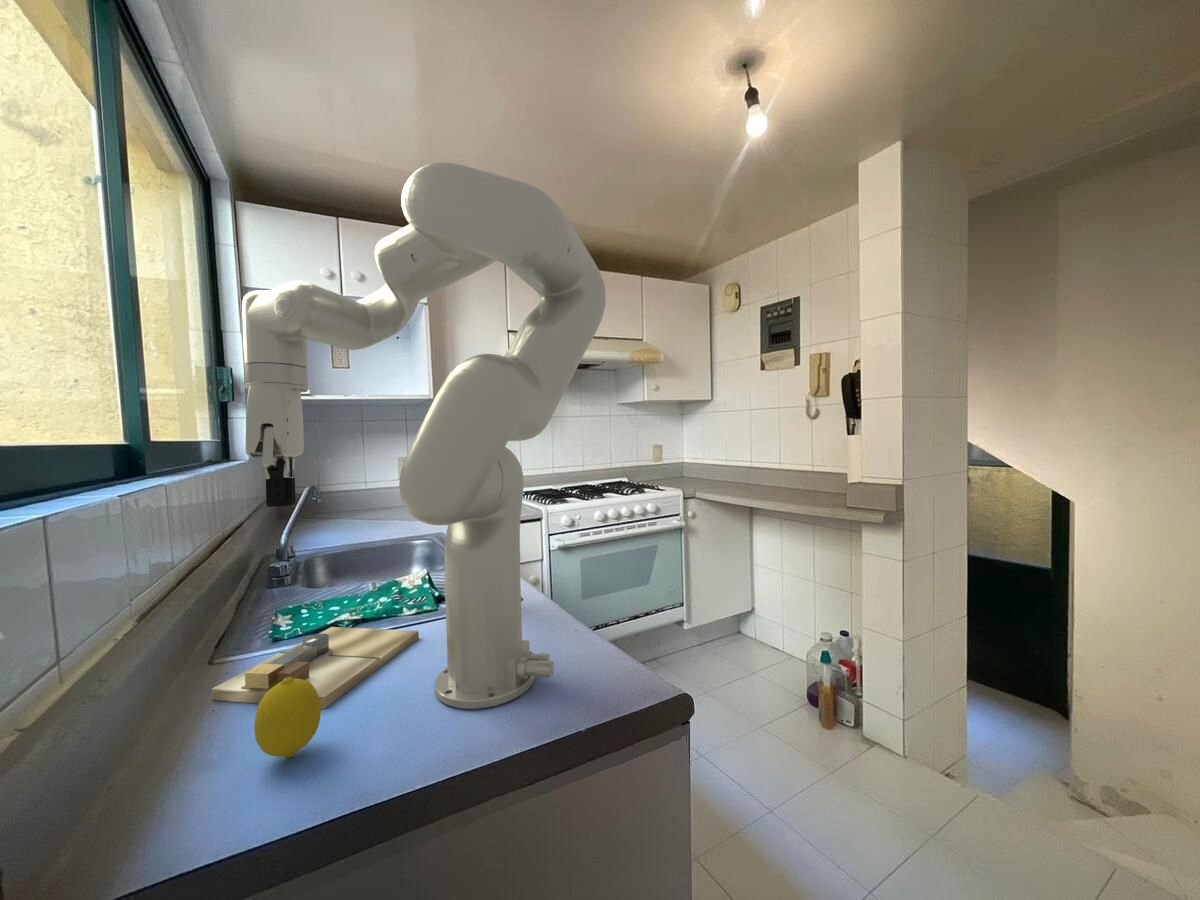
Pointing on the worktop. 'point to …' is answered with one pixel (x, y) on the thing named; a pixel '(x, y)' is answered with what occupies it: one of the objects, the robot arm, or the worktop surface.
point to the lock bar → (286, 662)
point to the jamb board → (329, 664)
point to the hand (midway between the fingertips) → (281, 505)
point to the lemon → (287, 717)
